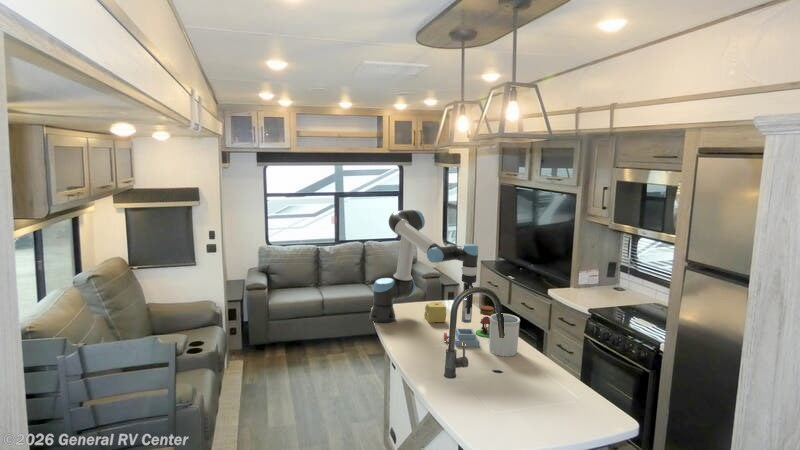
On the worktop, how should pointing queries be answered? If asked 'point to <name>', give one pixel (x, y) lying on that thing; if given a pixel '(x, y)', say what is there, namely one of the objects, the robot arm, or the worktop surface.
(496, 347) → the utensil holder
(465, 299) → the pipe stub
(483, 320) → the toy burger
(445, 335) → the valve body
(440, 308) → the cheese
